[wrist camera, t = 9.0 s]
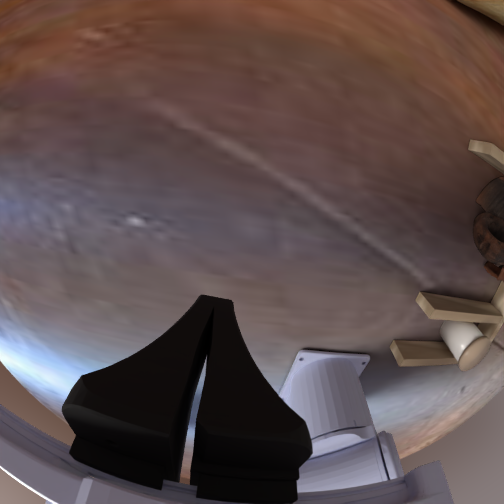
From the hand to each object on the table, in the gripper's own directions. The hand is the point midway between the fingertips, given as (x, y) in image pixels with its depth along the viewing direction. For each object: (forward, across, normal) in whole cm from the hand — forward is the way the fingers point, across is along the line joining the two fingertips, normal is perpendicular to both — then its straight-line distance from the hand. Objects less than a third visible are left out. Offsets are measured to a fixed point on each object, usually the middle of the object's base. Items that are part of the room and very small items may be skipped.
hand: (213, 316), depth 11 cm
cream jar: (+10, -26, +6) cm, 28 cm away
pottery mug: (+10, -24, -7) cm, 27 cm away
